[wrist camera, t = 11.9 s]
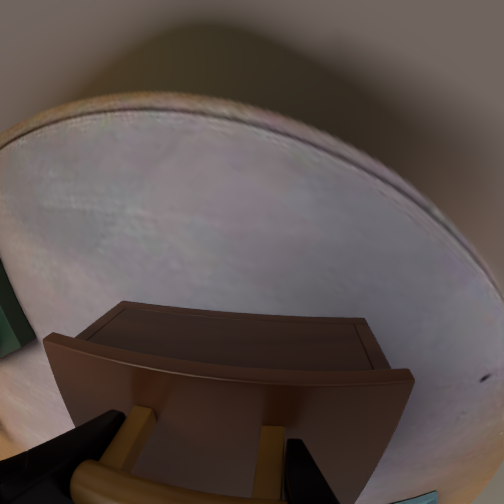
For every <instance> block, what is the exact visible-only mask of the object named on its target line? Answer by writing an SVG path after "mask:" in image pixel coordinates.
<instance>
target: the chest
mask: <svg viewBox="0 0 504 504" xmlns="http://www.w3.org/2000/svg"><path fill="white" fill-rule="evenodd" d="M75 338H76V339H80V340H84V341H88V342H92V343H96V344H101V345H105V346H109V347H114V348H119V349H123V350H128V351H133V352H139V353H144V354H149V355H155V356H161V357H167V358H173V359H180V360H187V361H194V362H202V363H210V364H218V365H228V366H238V367H250V368H263V369H279V370H304V371H363V370H387V369H391V367H390V365H389V363H388V361H387V359H386V357H385V355H384V353H383V352H382V350H381V348H380V346H379V344H378V342H377V340H376V338H375V337H374V335H373V333H372V331H371V329H370V327H369V326H368V324H367V322H366V320H365V318H331V317H301V316H280V315H262V314H247V313H233V312H220V311H209V310H198V309H188V308H178V307H169V306H160V305H151V304H143V303H135V302H128V301H121V302H120V303H119V304H117V305H116V306H115V307H113V308H112V309H111V310H110V311H108V312H107V313H106V314H104V315H103V316H102V317H100V318H99V319H98V320H96V321H95V322H94V323H93V324H91V325H90V326H89V327H87V328H86V329H85V330H84V331H82V332H81V333H80V334H78V335H77V336H76V337H75Z"/></svg>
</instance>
